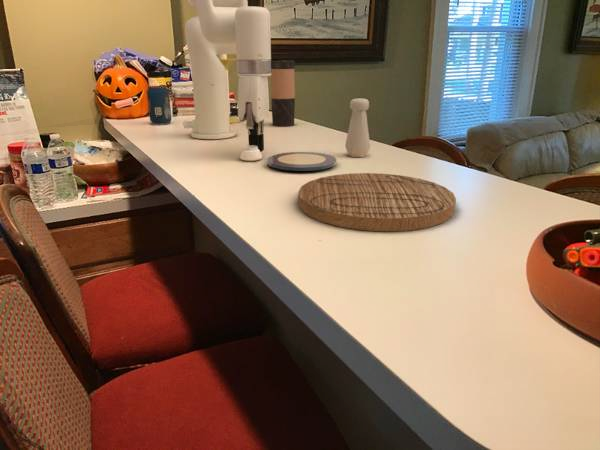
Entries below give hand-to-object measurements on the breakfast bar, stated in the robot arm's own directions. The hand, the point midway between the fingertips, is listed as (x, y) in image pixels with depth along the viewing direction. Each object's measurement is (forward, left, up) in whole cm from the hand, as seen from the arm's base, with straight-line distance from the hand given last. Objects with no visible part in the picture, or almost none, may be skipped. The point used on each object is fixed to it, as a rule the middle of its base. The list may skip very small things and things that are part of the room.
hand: (256, 150), depth 110 cm
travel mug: (-5, +47, -1) cm, 48 cm away
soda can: (-46, +42, -1) cm, 62 cm away
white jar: (0, -3, -1) cm, 4 cm away
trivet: (+29, -31, -1) cm, 42 cm away
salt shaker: (+23, +5, -1) cm, 24 cm away
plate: (+12, -7, -1) cm, 14 cm away
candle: (-26, +51, -1) cm, 58 cm away
